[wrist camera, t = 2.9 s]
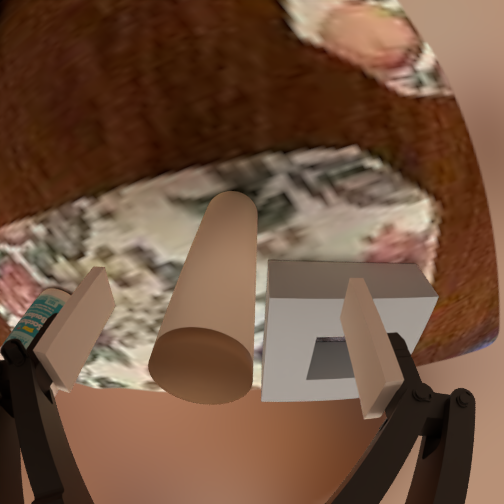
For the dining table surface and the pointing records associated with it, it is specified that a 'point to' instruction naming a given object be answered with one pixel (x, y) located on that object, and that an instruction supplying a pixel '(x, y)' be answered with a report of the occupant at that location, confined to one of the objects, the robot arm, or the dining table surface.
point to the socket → (331, 323)
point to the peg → (212, 309)
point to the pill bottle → (38, 318)
